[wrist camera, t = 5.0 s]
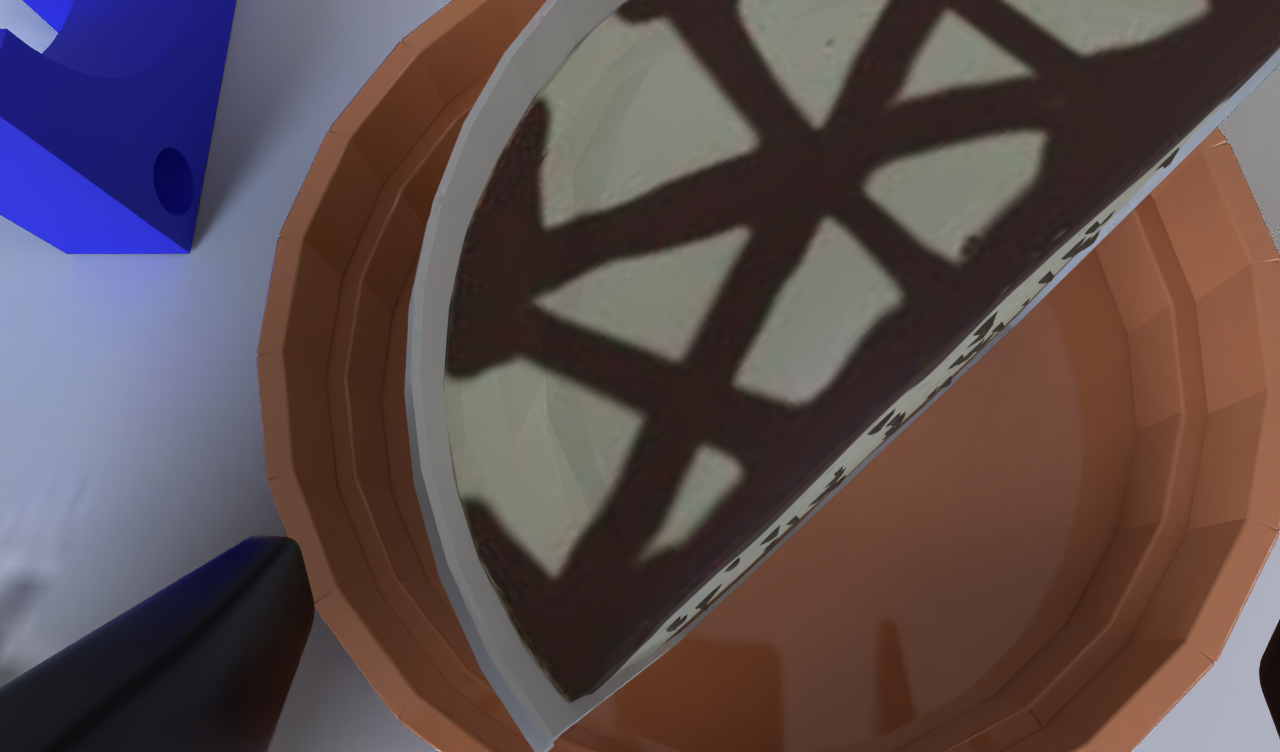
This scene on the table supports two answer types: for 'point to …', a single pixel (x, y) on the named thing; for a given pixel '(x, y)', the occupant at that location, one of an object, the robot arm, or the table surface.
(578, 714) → the food container
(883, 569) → the basin
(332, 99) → the table surface
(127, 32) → the blue stepped block
